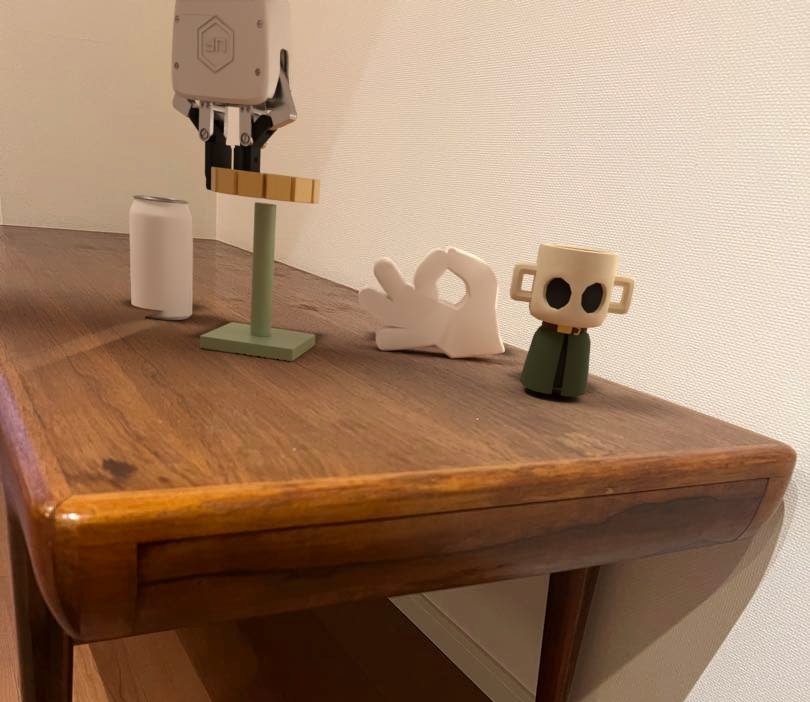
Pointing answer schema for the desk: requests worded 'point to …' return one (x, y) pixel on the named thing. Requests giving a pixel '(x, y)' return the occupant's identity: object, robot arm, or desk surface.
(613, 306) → the character mug
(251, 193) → the ring
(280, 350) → the post
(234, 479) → the desk surface
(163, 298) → the can
